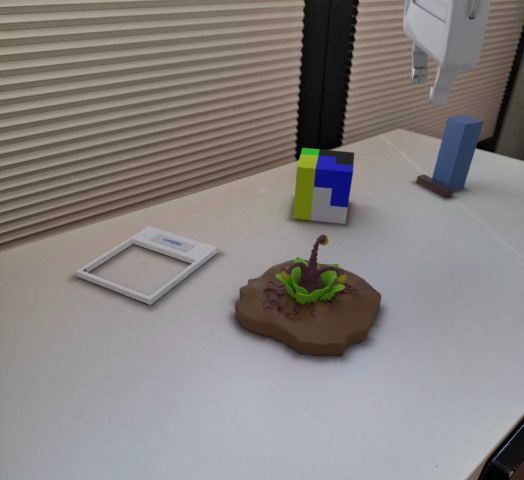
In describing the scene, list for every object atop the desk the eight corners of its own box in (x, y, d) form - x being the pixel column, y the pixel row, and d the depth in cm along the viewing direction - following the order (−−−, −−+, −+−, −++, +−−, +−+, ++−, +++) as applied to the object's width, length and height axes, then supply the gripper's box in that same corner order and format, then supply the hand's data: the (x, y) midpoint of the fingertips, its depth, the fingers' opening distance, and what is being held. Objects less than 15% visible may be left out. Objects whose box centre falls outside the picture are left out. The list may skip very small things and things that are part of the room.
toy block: (447, 180, 114) (465, 114, 105) (463, 188, 111) (483, 121, 102) (430, 183, 112) (447, 117, 103) (446, 192, 109) (465, 124, 100)
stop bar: (422, 180, 113) (424, 174, 112) (452, 196, 107) (454, 189, 106) (416, 182, 113) (417, 175, 112) (445, 198, 107) (447, 191, 106)
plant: (398, 301, 77) (415, 235, 70) (338, 372, 65) (351, 301, 58) (287, 260, 86) (292, 197, 78) (215, 316, 73) (213, 247, 66)
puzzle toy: (345, 223, 96) (353, 172, 90) (293, 218, 97) (297, 167, 91) (346, 201, 104) (354, 152, 97) (298, 197, 105) (302, 147, 98)
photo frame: (217, 246, 86) (149, 298, 74) (217, 252, 87) (150, 305, 75) (149, 224, 91) (75, 270, 79) (149, 230, 92) (76, 276, 80)
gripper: (520, -38, 47) (479, 119, 56) (454, -53, 62) (430, 72, 71) (452, -37, 47) (422, 120, 56) (403, -53, 62) (386, 72, 71)
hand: (426, 92), depth 64 cm, fingers open, 8 cm apart
